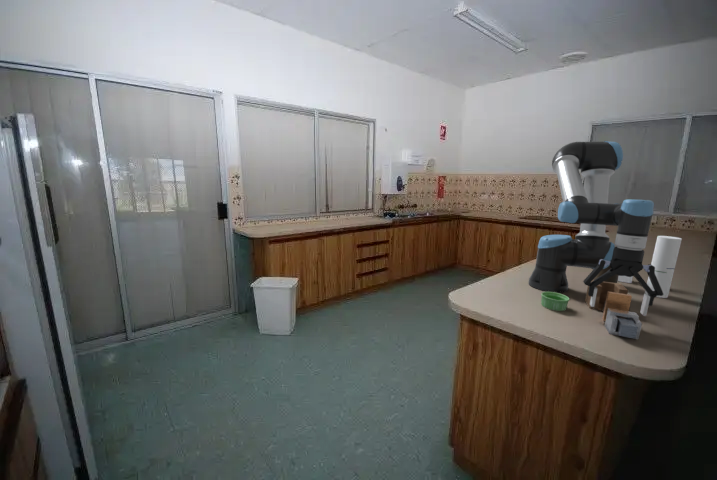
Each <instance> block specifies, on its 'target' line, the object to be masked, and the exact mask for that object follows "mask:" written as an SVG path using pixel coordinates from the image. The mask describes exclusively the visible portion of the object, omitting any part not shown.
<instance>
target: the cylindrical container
mask: <svg viewBox="0 0 717 480" xmlns="http://www.w3.org/2000/svg"><path fill="white" fill-rule="evenodd" d="M682 240H683V238H681V237H678V236H670V235H668V236H667V235H657V237H656V241H655V245H654V250H653V253H652V259H651V265H652V266H654V267H655V275H656V278H657V280H658V282H659V285H660V287H661V289H662V292H663V296H656V297H655V298H663V299H667V298H668V297H669V293H670V290H671V284H672V282H673V281H672V280H673V276H674V272H675V270H676V269H675V268H676V266H677V260H678V256H679V252H680V249H681V244H682ZM647 276H648V275H647ZM646 281H647V282H646V283H647V285H648V286H649V287H650V288H651V290H652V291H655V290H654V288H653V286H652V283H651V281H650V278H649V276H648V277H647V280H646ZM644 294H648V293H647V292H646V291H645V290H644Z"/></svg>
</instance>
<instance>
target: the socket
mask: <svg viewBox="0 0 717 480" xmlns="http://www.w3.org/2000/svg"><path fill="white" fill-rule="evenodd" d="M592 281H594V280H592ZM592 281H591V282H592ZM596 288H597V294H596V300H595V305H594V307H591V305H590V300H591V296H589V295H588V291H589V286H588V285H587V289H586V294H585V298H584V299H585V301H584V302H585V303H586V305H587V306H588V309H591V310H592V309H593V310H597V311H603V308H604V303H605V301H606V297H607V292H615V293H622V294H628V293H629V290H628V289H627V288H626V287H625V286H624V285H623V284H622V283H619V282H617V283H612V282H605V281H604V282H602V283H601V284H599V285H598V286H596Z"/></svg>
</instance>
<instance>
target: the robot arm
mask: <svg viewBox="0 0 717 480" xmlns="http://www.w3.org/2000/svg"><path fill="white" fill-rule="evenodd" d="M623 160H624V151H623V147H622V146H621V144H620V143H619V142H617V141H608V140H607V141H606V140H604V141H573V142H569V143H567V144H565V145H564V146H562V147H561V148H559V149H558V150H557V151H556V153H555V154H554V155H553V157H552V160H551V167H552V171H553V172H554V173H555V174H556V176H557V177H556V178H557V180H558V186H559V190H560V194H561V199H562V200H561V201H562V202H560V203H559V206H558V209H557V219H558V220H559V222H562V223H570V224H580V227H579V232H578V233H576V234H575V236H574V239H573V237H572V236H571V235H568V234H567V235H566V234H548V235H543V236H541V237H540V239H539V241H538V244H537V253H536V260H535V266H534V269H533V271H532V273H531V274H530V276H529V278H528V285H529V286H530V287H532V288H534V289H538V290H541V291H543V292H555V293H566V292H568V290H569V282H568V277H567V267H575V268H584V269H592V270H591V272H590V273H589V274H588V275H587V276H586V278H585V279H584V280H583V281H582V282H583V284H584V285H585V286H587V287H588V286H589V291H588V295H589V296H591V300H590V305H591V307H594V305H595V300H596V294H597V288H596V286H598V285H599V284H601V283H602V282H604V281H605V280H607V279H608V278H610V277H611V276H614V275H615V274H617V275H619V276H627V277H631V276H633V278H634V279H636V281H637V282H638V283H639V284H640V286H641V287H642V288H643V289H644V292H645V291H646V292H647V293H648V294H646V293H643V298H642V302H641V306H640V312H639V313H640V314H641V315H642V316H644V317H647V315H648V314H647V313H648V310H649V309H648V308H649V306H650V307H652V306H653V304H654V300H655V298H657V297H656V296H663V292H662V289H661V287H660V285H659V282H658V280H657V278H656V275H655V267H654V266H652V265H651V264H643V260H644V258H645V257H644V255H645V250H644V249H646V246H647V241H648V235H649V231H650V228H651V223H652V217H653V215H654V207H655V203H654V201H653V200H650V199H633V198H632V199H629V198H628V199H627V198H626V199H624V200H623V201H622V203H609V192H610V182H611V181H610V180H611V176H613V175H614V174H615V172H616V170H619V169H620V167H622V162H623ZM582 177H583V179H584V182H583V180H582ZM606 226H615V227H617V230H616V234H615V241H614V242H612V241H610V236H609V235H608V234H607V233H606ZM609 265H610V267H611V269H609V270H608V271H607V272H606V273H604V274H603V275H601V276H600V277H598V278H597V279H595V280H594V281H592V280H593V279H594V278H595V277H596V276H597V275H598V274H599V273H600V271H601V270H602V269H605V268H607V267H608V266H609ZM593 269H594V270H593ZM642 270H644V271H645V272H646V273H647V276H649V278H650V281H651V283H652V286H653V288H654V290H655V291H652V290H651V288H650V287H649V286H648V285H647V282H646V281H645V280H644V278H643V277H642V276H641V275H640V273H639V272H641V271H642ZM591 281H592V282H591Z"/></svg>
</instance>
